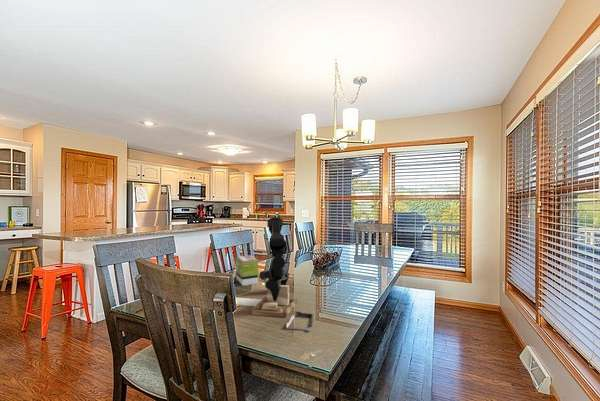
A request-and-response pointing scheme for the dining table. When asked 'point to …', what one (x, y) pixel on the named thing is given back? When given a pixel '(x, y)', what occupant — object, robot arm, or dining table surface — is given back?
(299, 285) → the dining table surface
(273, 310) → the offcut middle
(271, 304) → the offcut top
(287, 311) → the rack
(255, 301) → the mat
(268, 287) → the robot arm
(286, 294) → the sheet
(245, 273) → the tea box
